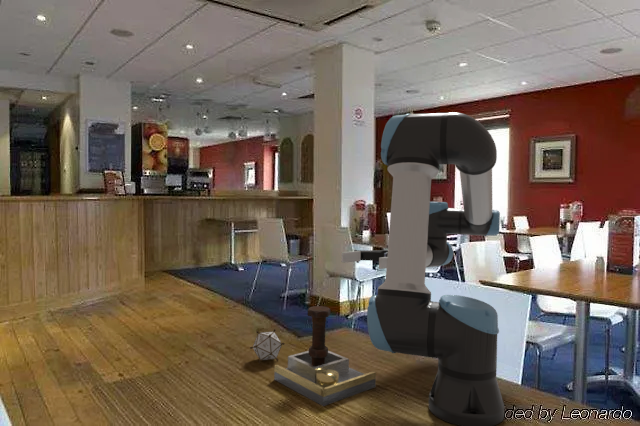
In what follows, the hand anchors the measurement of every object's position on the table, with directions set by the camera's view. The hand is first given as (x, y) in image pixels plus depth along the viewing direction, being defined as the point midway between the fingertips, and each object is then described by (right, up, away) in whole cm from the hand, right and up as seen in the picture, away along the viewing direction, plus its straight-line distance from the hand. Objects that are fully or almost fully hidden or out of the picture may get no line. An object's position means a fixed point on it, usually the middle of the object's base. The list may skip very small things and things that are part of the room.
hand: (360, 260), depth 125 cm
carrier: (-9, -28, -11) cm, 31 cm away
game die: (-24, -27, +4) cm, 37 cm away
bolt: (-11, -26, -7) cm, 29 cm away
